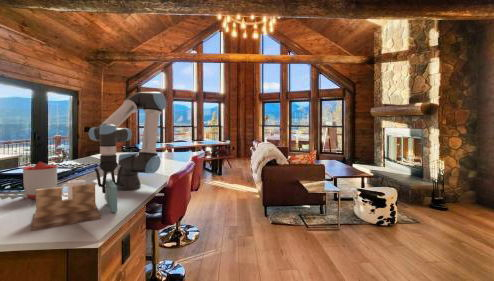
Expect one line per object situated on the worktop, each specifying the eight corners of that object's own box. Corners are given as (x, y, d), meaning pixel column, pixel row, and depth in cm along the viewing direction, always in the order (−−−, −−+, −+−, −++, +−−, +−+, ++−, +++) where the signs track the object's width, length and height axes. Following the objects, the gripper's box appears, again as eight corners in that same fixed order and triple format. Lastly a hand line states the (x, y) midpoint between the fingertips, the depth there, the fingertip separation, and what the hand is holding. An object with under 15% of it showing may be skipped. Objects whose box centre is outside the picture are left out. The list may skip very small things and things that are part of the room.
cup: (83, 200, 143) (83, 182, 142) (57, 202, 139) (57, 183, 138) (87, 196, 151) (87, 179, 150) (63, 198, 147) (62, 180, 146)
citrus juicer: (52, 190, 161) (51, 158, 160) (61, 196, 150) (61, 161, 149) (19, 195, 149) (18, 161, 148) (27, 202, 138) (25, 164, 137)
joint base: (95, 204, 136) (94, 179, 135) (100, 218, 117) (100, 189, 116) (36, 212, 122) (35, 184, 121) (31, 230, 103) (30, 196, 102)
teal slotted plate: (110, 200, 141) (110, 178, 140) (117, 211, 124) (116, 186, 123) (105, 201, 139) (105, 178, 138) (111, 212, 123) (111, 187, 122)
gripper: (91, 156, 128) (92, 203, 129) (126, 154, 137) (126, 198, 138) (90, 154, 134) (91, 199, 135) (123, 152, 143) (123, 194, 144)
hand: (109, 198), depth 137 cm, fingers closed on teal slotted plate, 2 cm apart
